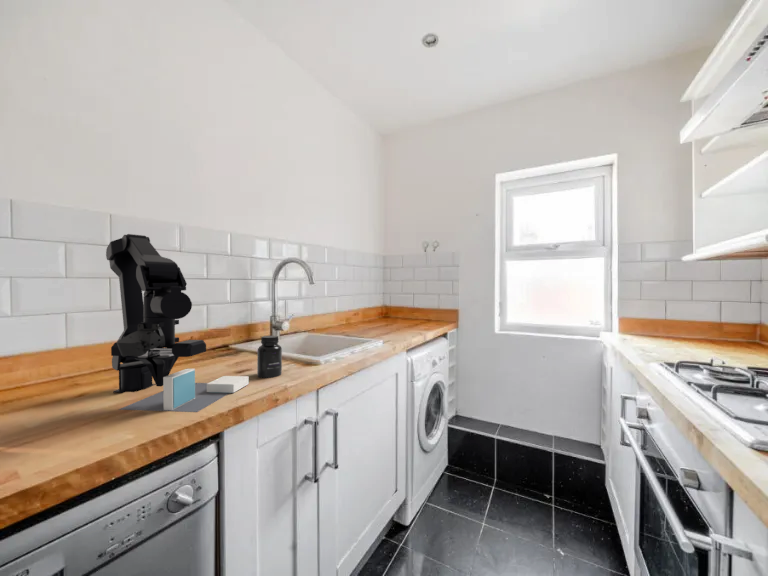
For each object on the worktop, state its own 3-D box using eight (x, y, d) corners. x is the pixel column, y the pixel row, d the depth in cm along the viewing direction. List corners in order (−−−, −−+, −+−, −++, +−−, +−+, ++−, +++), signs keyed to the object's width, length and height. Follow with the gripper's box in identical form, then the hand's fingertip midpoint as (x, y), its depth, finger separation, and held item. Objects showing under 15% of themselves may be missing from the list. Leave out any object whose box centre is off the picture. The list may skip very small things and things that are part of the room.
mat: (118, 412, 67) (118, 409, 67) (183, 384, 86) (183, 382, 86) (197, 414, 66) (197, 411, 66) (245, 386, 85) (245, 383, 85)
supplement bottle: (274, 380, 89) (273, 338, 89) (252, 379, 91) (252, 338, 91) (286, 374, 96) (285, 335, 96) (266, 373, 97) (265, 334, 97)
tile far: (206, 383, 78) (233, 384, 77) (223, 375, 85) (248, 376, 84) (206, 392, 78) (233, 393, 77) (223, 384, 85) (248, 384, 84)
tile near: (163, 409, 67) (163, 377, 67) (187, 398, 74) (186, 368, 74) (173, 410, 67) (172, 377, 67) (195, 398, 74) (195, 368, 74)
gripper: (84, 320, 64) (85, 397, 64) (170, 320, 62) (171, 399, 62) (133, 315, 75) (134, 380, 75) (207, 315, 73) (208, 382, 73)
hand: (160, 385), depth 71 cm, fingers closed
